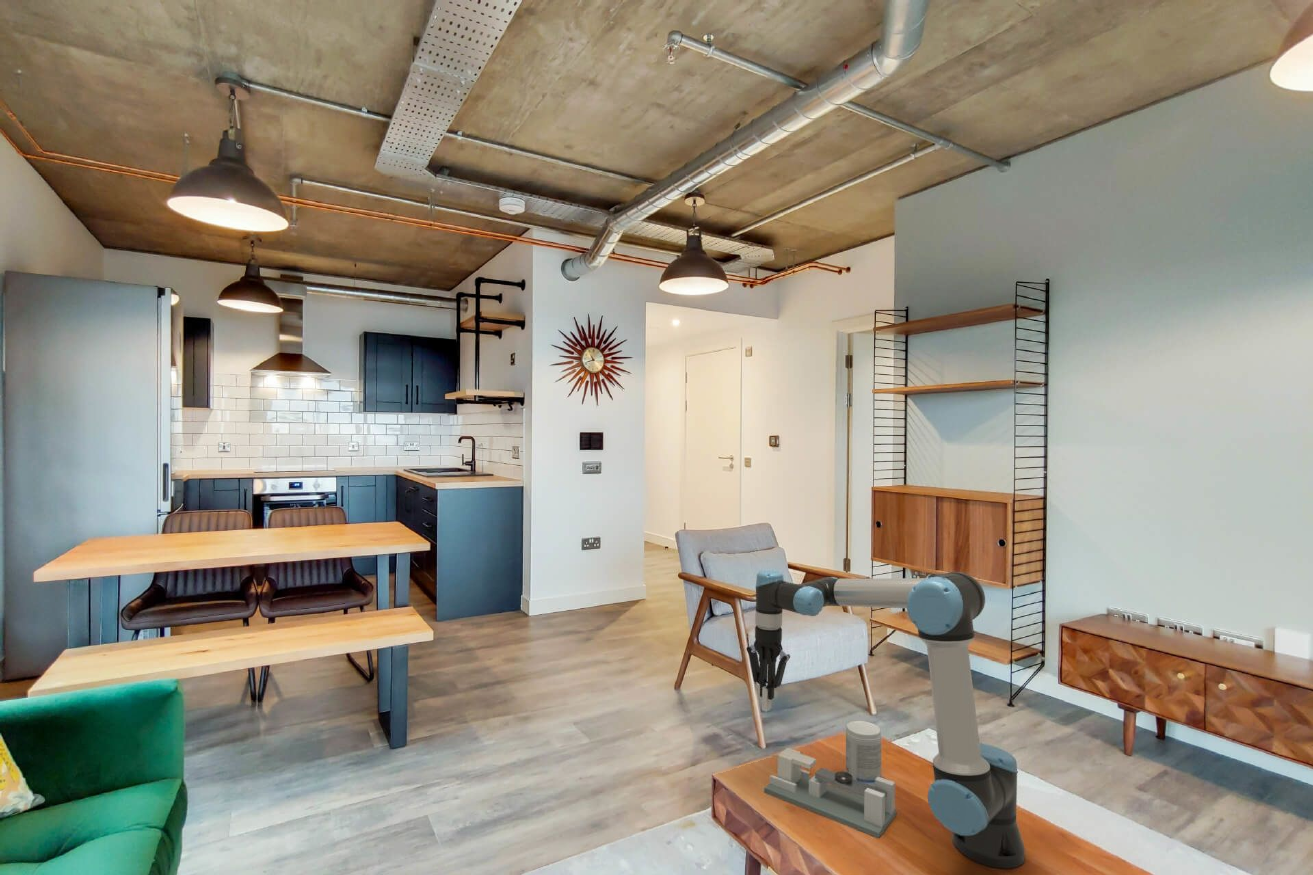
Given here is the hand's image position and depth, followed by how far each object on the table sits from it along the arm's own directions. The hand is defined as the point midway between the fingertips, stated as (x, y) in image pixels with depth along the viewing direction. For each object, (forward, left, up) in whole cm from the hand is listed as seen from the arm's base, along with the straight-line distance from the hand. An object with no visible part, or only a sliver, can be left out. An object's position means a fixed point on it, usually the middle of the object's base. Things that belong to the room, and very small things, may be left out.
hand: (766, 709), depth 182 cm
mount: (-19, +1, -19) cm, 27 cm away
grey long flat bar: (-25, 0, -13) cm, 28 cm away
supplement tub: (-22, -16, -19) cm, 33 cm away
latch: (-10, 0, -18) cm, 20 cm away
